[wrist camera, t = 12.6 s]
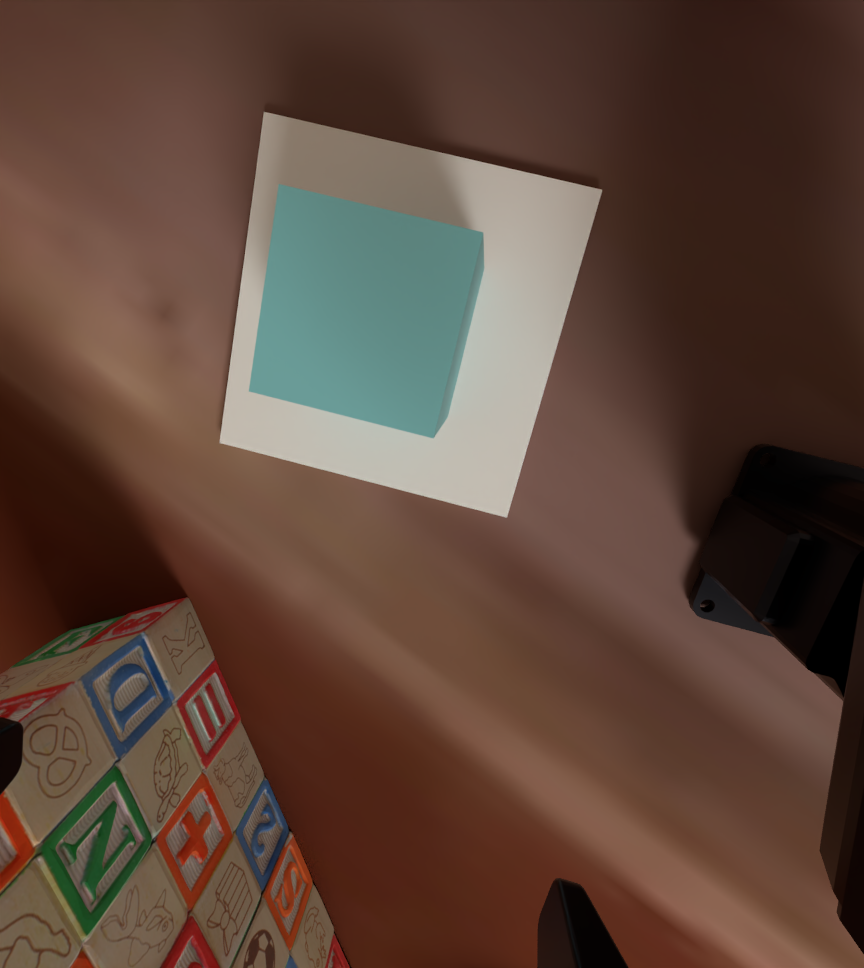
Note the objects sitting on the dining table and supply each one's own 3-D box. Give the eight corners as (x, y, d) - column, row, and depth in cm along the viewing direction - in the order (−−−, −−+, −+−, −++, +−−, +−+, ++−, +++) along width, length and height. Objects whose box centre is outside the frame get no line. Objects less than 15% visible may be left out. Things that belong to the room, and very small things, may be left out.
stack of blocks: (360, 975, 26) (251, 1509, 14) (249, 989, 27) (57, 1497, 15) (188, 591, 22) (-181, 879, 10) (64, 626, 23) (-407, 924, 11)
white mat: (599, 194, 16) (602, 189, 16) (506, 514, 19) (506, 517, 19) (268, 117, 17) (264, 111, 16) (225, 441, 20) (219, 442, 19)
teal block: (484, 268, 17) (483, 232, 12) (447, 417, 18) (433, 438, 13) (337, 233, 17) (278, 184, 12) (311, 382, 18) (248, 391, 14)
